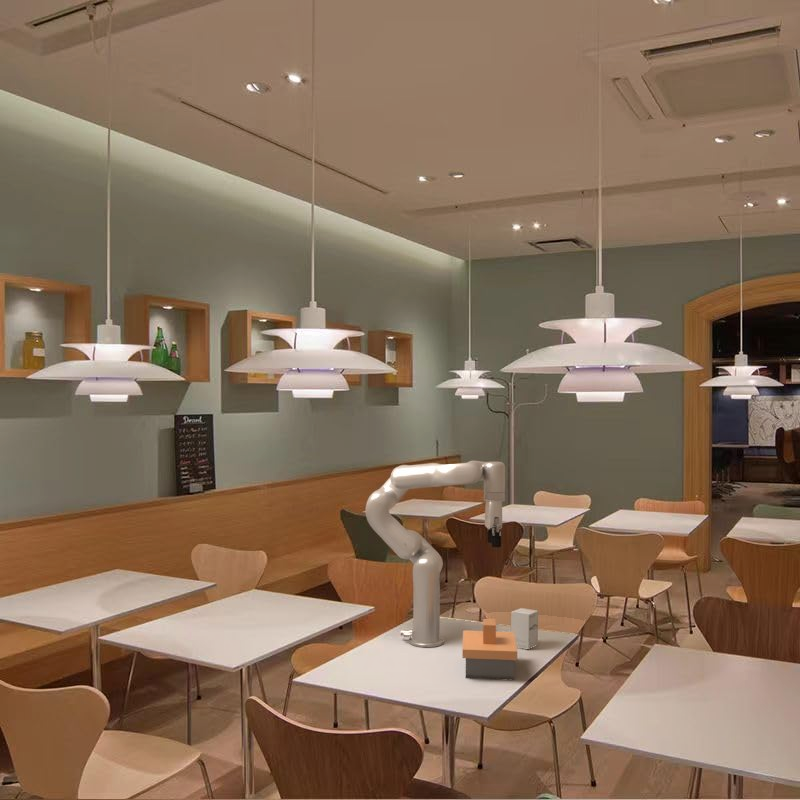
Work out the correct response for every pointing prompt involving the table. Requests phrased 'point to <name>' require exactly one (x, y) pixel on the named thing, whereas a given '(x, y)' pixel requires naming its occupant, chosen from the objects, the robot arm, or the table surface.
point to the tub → (489, 669)
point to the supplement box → (525, 627)
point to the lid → (489, 643)
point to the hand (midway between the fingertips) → (494, 544)
